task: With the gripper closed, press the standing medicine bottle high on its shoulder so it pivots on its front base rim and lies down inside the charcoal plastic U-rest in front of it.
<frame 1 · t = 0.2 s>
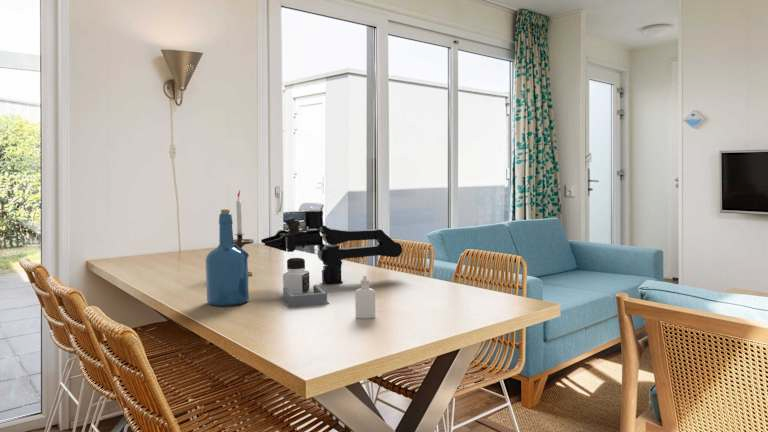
hand: (263, 242, 200), 17 cm above the table, tool horizontal, fingers open, 9 cm apart
eye dropper bottle: (365, 317, 158), on the table
candlestick: (241, 276, 227), on the table
medicine bottle: (296, 293, 192), on the table
u rest: (304, 300, 180), on the table
wine bottle: (229, 302, 179), on the table
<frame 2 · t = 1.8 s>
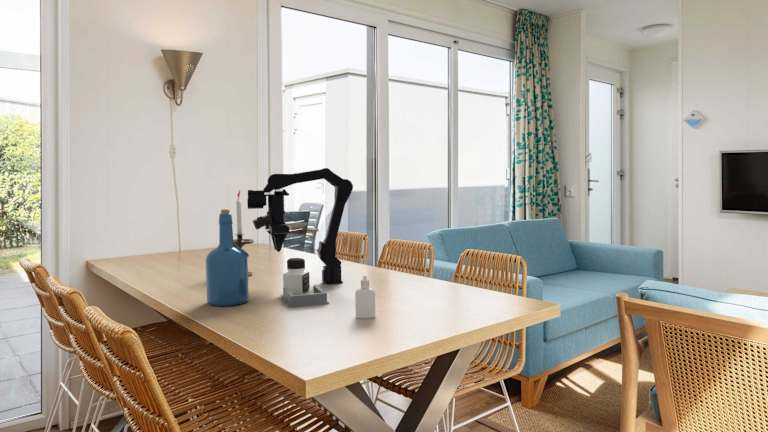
hand: (277, 250, 204), 13 cm above the table, tool pointing down, fingers open, 5 cm apart
nothing on the table moved.
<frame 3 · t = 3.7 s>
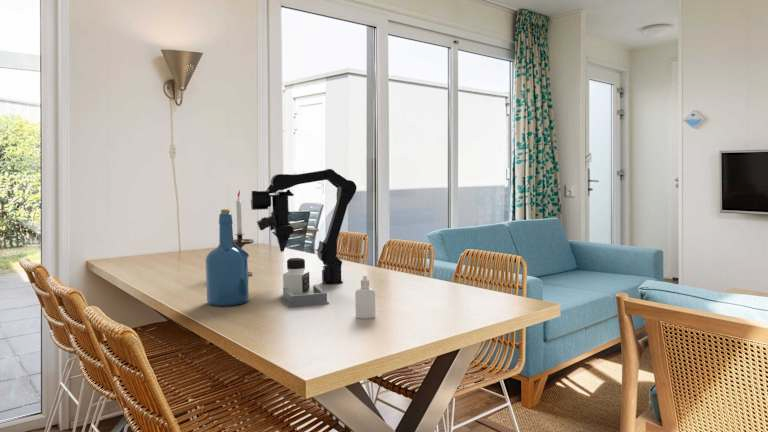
hand: (282, 251, 203), 13 cm above the table, tool pointing down, fingers closed
nothing on the table moved.
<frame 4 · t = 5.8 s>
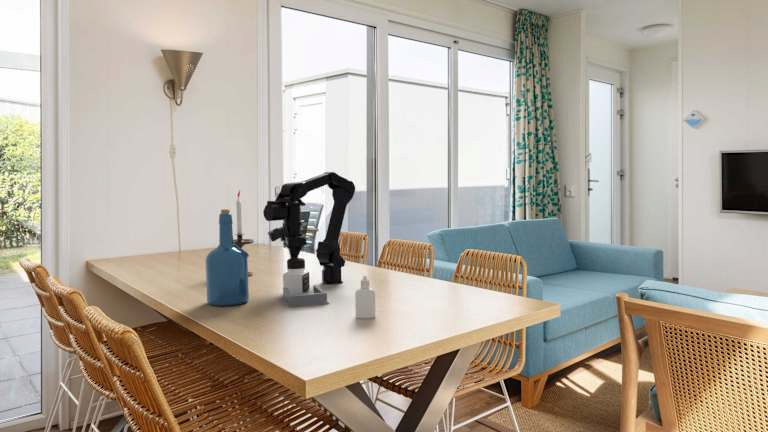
hand: (293, 263, 196), 10 cm above the table, tool pointing down, fingers closed
medicine bottle: (296, 293, 192), on the table, touching gripper
everything else where it was.
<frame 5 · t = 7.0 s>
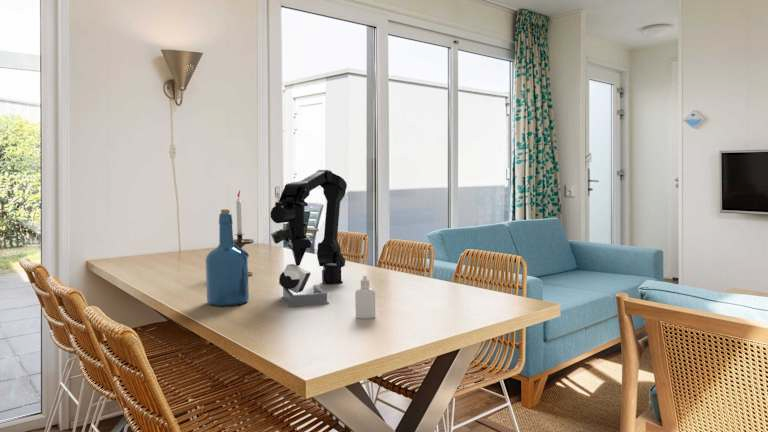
hand: (297, 265, 190), 10 cm above the table, tool pointing down, fingers closed
medicine bottle: (297, 277, 189), point 6 cm above the table, touching gripper, u rest
everything else where it was.
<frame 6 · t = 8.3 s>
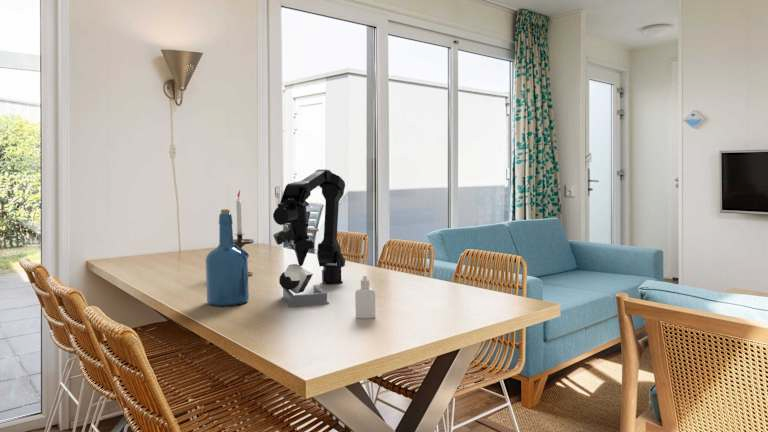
hand: (300, 265, 189), 10 cm above the table, tool pointing down, fingers closed, pressing on medicine bottle
medicine bottle: (299, 277, 189), point 6 cm above the table, touching gripper, u rest
everything else where it was.
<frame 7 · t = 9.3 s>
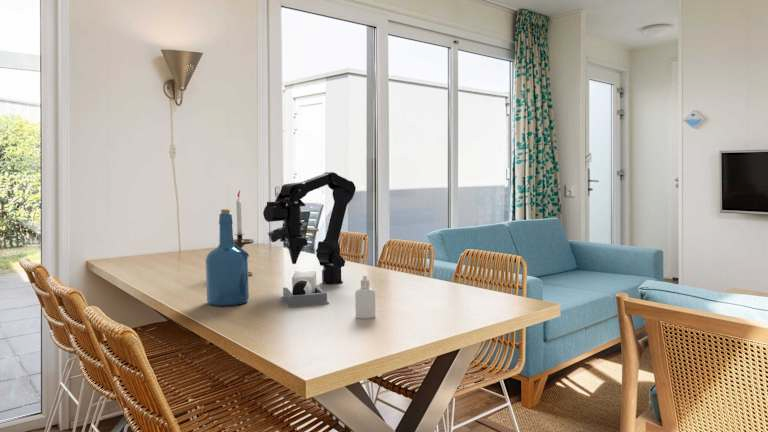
hand: (293, 263, 196), 9 cm above the table, tool pointing down, fingers closed
medicine bottle: (305, 280, 188), point 5 cm above the table, touching u rest
everything else where it was.
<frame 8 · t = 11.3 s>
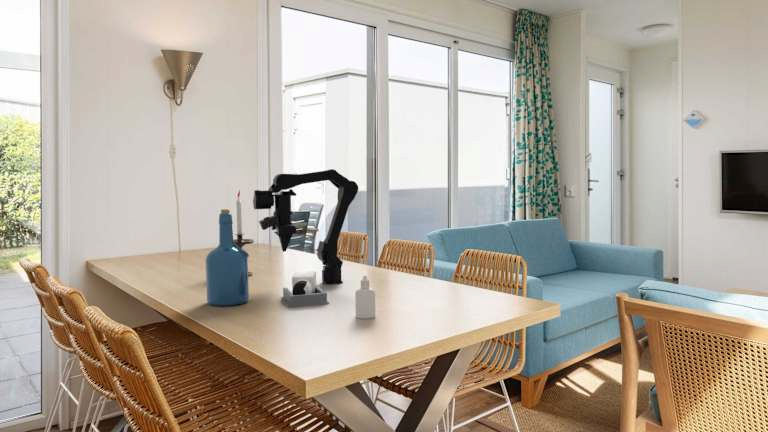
hand: (284, 251, 202), 13 cm above the table, tool pointing down, fingers closed
nothing on the table moved.
at the end: medicine bottle tilted 97°; medicine bottle inside the target area on the table beside the u rest (2.4 cm from its centre), point 4.8 cm above the table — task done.
